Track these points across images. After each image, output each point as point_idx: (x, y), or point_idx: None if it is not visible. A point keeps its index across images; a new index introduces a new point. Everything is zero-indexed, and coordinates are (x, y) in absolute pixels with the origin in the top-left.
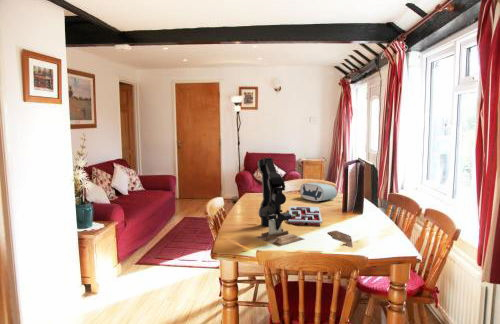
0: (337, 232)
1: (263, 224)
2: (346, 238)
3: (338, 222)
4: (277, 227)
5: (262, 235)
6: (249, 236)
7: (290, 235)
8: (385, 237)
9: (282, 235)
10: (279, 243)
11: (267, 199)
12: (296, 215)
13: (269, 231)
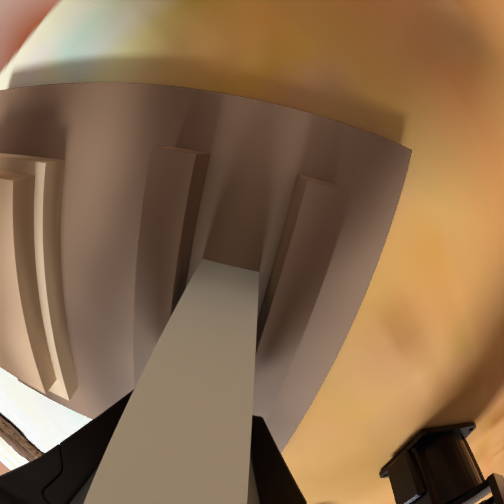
0: None
1: (451, 447)
2: (9, 439)
3: None
4: (101, 422)
5: (318, 181)
6: (487, 187)
7: (4, 341)
8: (4, 458)
9: None
10: (12, 154)
11: None
12: None
13: (232, 314)
